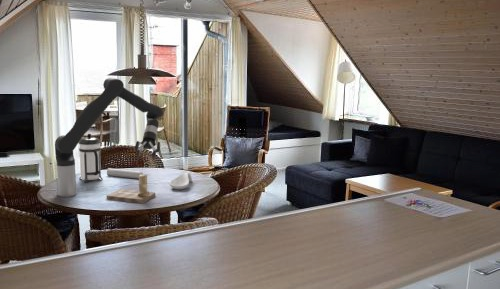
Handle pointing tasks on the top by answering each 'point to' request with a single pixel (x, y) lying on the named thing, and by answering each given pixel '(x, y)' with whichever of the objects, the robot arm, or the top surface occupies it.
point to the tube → (123, 173)
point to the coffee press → (90, 158)
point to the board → (129, 196)
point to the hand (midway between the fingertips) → (145, 157)
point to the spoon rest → (181, 181)
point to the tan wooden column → (143, 185)
